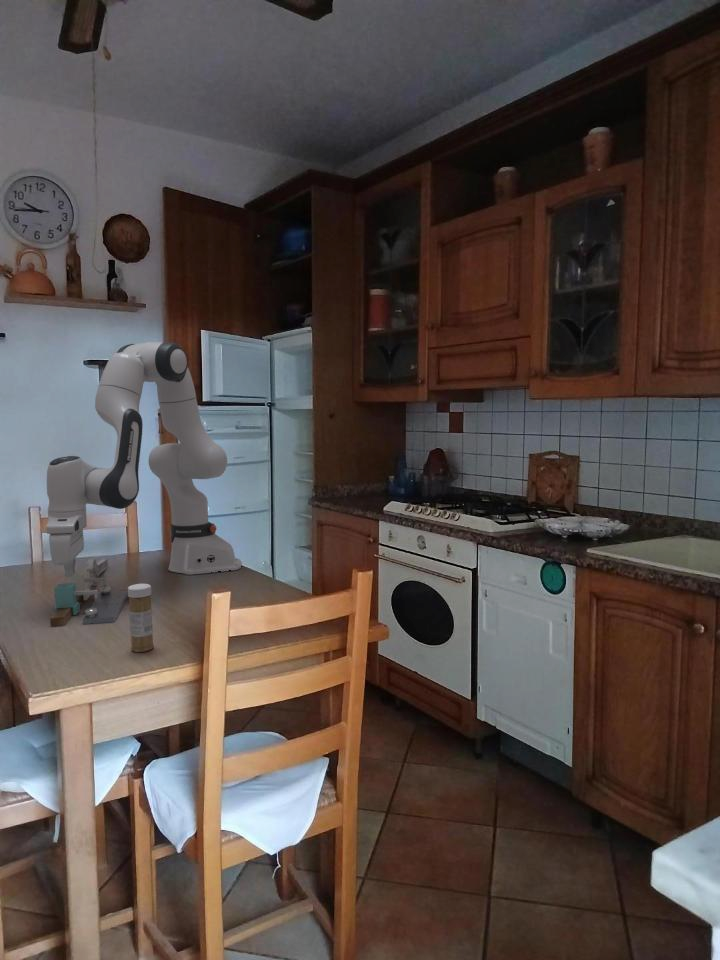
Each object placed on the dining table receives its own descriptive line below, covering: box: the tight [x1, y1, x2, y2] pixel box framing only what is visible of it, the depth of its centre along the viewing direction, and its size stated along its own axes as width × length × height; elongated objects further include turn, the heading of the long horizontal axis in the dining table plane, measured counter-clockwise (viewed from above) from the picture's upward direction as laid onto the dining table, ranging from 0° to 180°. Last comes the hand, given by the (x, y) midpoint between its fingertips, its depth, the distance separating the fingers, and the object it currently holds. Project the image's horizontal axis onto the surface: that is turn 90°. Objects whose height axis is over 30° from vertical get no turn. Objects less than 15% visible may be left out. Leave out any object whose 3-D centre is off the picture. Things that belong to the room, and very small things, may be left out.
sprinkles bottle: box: [127, 583, 154, 653], centre depth 140 cm, size 5×5×13 cm
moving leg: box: [52, 582, 99, 616], centre depth 166 cm, size 10×4×7 cm, turn 101°
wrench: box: [86, 558, 109, 587], centre depth 201 cm, size 8×2×30 cm
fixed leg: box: [66, 570, 108, 601], centre depth 179 cm, size 10×4×7 cm, turn 101°
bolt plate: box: [82, 586, 129, 625], centre depth 170 cm, size 7×24×3 cm, turn 11°
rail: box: [49, 595, 84, 627], centre depth 168 cm, size 3×24×2 cm, turn 11°
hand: (70, 575), depth 172 cm, fingers closed
